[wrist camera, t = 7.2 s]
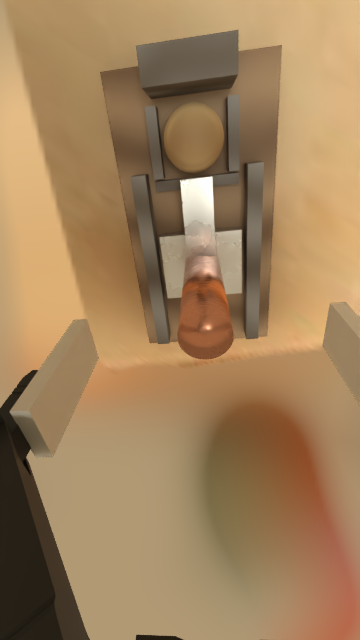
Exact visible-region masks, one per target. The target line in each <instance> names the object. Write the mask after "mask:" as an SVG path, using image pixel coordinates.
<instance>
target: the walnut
mask: <svg viewBox="0 0 360 640" xmlns="http://www.w3.org/2000/svg"><path fill="white" fill-rule="evenodd" d="M163 139H164V147H165V151H166V154H167V156H168V158H169V159H170V161H171V162H172V163H173V164H174V165H175V166H176V167H177V168H178V169H180V170H182V171H184V172H188V173H197V172H201V171H204V170H206V169H208V168H209V167H210V166H212V165H213V164H214V163H215V161H216V160H217V159H218V157H219V155H220V153H221V150H222V147H223V142H224V131H223V126H222V123H221V120H220V118H219V117H218V115H217V114H216V112H215V111H214V110H213V109H212V108H210V107H209V106H207V105H205V104H203V103H199V102H190V103H186V104H183V105H181V106H180V107H178V108H177V109H176V110H175V111H174V112H173V113H172V114H171V115H170V117H169V119H168V121H167V123H166V126H165V129H164V137H163Z"/></svg>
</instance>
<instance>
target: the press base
mask: <svg viewBox="0 0 360 640" xmlns="http://www.w3.org/2000/svg"><path fill="white" fill-rule="evenodd" d="M136 49H137V57H138V65H139V66H138V67H131V68H124V69H117V70H111V71H104V72H100V73H101V79H102V84H103V90H104V95H105V101H106V106H107V112H108V117H109V123H110V128H111V134H112V139H113V144H114V150H115V155H116V161H117V166H118V172H119V177H120V183H121V188H122V194H123V199H124V205H125V210H126V216H127V221H128V226H129V232H130V237H131V243H132V248H133V254H134V259H135V265H136V270H137V276H138V281H139V287H140V292H141V297H142V303H143V308H144V314H145V319H146V325H147V330H148V336H149V341H150V343H158V344H167V343H169V342H176V341H178V339H177V334H178V324H179V315H180V306H181V298H168V297H167V289H166V282H165V275H164V267H163V260H162V252H161V245H160V238H159V237H160V235H161V234H167V233H177V232H185V228H184V217H183V206H182V196H181V185H180V180H181V178H190V177H199V176H208V175H212V182H213V204H214V227H215V229H221V228H231V227H240V228H241V229H242V293H237V294H226V298H227V303H228V307H229V312H230V317H231V322H232V327H233V333H234V338H246V339H255V338H258V337H263V336H267V329H268V309H269V289H270V269H271V249H272V229H273V209H274V189H275V169H276V150H277V130H278V110H279V90H280V70H281V50H282V45H279V46H273V47H266V48H259V49H252V50H246V51H239V52H238V30H235V31H228V32H222V33H215V34H209V35H202V36H196V37H190V38H183V39H177V40H170V41H164V42H157V43H151V44H144V45H138V46H136ZM190 102H199V103H203V104H205V105H207V106H209V107H210V108H212V109H213V110H214V111H215V112H216V114H217V115H218V117H219V118H220V120H221V123H222V126H223V131H224V142H223V147H222V150H221V153H220V155H219V157H218V159H217V160H216V161H215V163H214V164H213V165H212V166H210V167H209V168H208V169H206V170H204V171H201V172H197V173H188V172H184V171H182V170H180V169H178V168H177V167H176V166H175V165H174V164H173V163H172V162H171V161H170V159H169V158H168V156H167V154H166V151H165V147H164V139H163V137H164V129H165V126H166V123H167V121H168V119H169V117H170V115H171V114H172V113H173V112H174V111H175V110H176V109H177V108H178V107H180V106H181V105H183V104H186V103H190Z"/></svg>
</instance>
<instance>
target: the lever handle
mask: <svg viewBox="0 0 360 640" xmlns="http://www.w3.org/2000/svg"><path fill="white" fill-rule="evenodd" d="M180 185H181V196H182V206H183V217H184V228H185V232H177V233H167V234H161V235H160V237H159V238H160V245H161V252H162V260H163V267H164V275H165V282H166V289H167V297H168V298H181V306H180V315H179V324H178V334H177V339H178V342H179V345H180V347H181V348H182V350H183V351H184V352H186V353H187V354H188V355H190V356H192V357H195V358H198V359H213V358H216V357H219V356H221V355H222V354H224V353H225V352H226V351H227V350H228V349H229V348H230V346H231V345H232V342H233V338H234V333H233V327H232V322H231V317H230V312H229V307H228V303H227V298H226V294H237V293H242V229H241V228H240V227H231V228H221V229H215V227H214V204H213V182H212V175H208V176H199V177H190V178H181V180H180Z"/></svg>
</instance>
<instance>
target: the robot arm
mask: <svg viewBox="0 0 360 640" xmlns="http://www.w3.org/2000/svg"><path fill="white" fill-rule="evenodd" d="M323 348H324V349H325V351H326V352H327V354H328V356H329V357H330V359H331V361H332V362H333V364H334V365H335V367H336V369H337V370H338V372H339V373H340V375H341V377H342V378H343V380H344V381H345V383H346V385H347V386H348V388H349V389H350V391H351V393H352V394H353V396H354V397H355V399H356V401H357V402H358V404H359V406H360V317H359V316H358V315H357V314H356V313H355V312H354V311H353V310H352V308H351V307H350V306H349V305H348V304H347V303H346V302H339V303H330V306H329V312H328V318H327V323H326V329H325V335H324V340H323ZM98 358H99V357H98V354H97V351H96V347H95V344H94V341H93V338H92V334H91V331H90V328H89V325H88V321H87V319H82V320H73V322H72V323H71V325H70V326H69V328H68V329H67V330H66V332H65V333H64V335H63V336H62V338H61V339H60V341H59V342H58V343H57V345H56V346H55V347H54V349H53V351H52V352H51V353H50V355H49V356H48V357H47V359H46V360H45V362H44V363H43V365H42V366H41V367H40V369H39V370H32V371H31V372H30V373H28V374H27V375H26V376H25V377H23V378H22V380H21V381H20V382H19V384H18V385H17V388H15V389H14V391H13V392H12V394H11V395H10V396H9V397H8V399H7V400H6V401H5V403H4V404H3V405H2V407H1V408H0V640H90V639H89V637H88V635H87V632H86V630H85V627H84V624H83V621H82V618H81V615H80V612H79V609H78V606H77V603H76V600H75V597H74V595H73V592H72V589H71V586H70V583H69V580H68V577H67V574H66V571H65V568H64V565H63V562H62V559H61V556H60V553H59V550H58V547H57V544H56V541H55V538H54V536H53V532H52V530H51V527H50V524H49V521H48V518H47V515H46V512H45V509H44V506H43V503H42V500H41V497H40V494H39V491H38V488H37V485H36V482H35V479H34V476H33V473H32V470H31V468H30V465H29V462H28V460H27V458H26V456H27V454H28V452H29V451H30V449H31V450H32V452H33V454H34V456H35V457H36V458H38V457H53V456H54V454H55V452H56V450H57V447H58V445H59V443H60V441H61V439H62V437H63V434H64V432H65V430H66V428H67V426H68V424H69V421H70V419H71V417H72V415H73V413H74V411H75V408H76V406H77V404H78V402H79V400H80V398H81V395H82V393H83V391H84V389H85V387H86V384H87V382H88V380H89V378H90V376H91V373H92V371H93V369H94V367H95V365H96V363H97V361H98ZM136 640H183V639H180V638H178V637H176V636H155V635H136Z"/></svg>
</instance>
